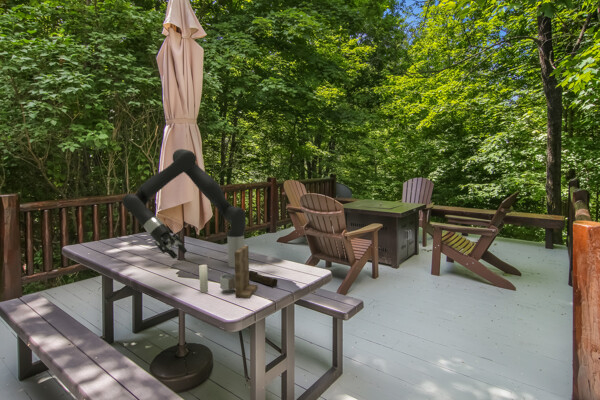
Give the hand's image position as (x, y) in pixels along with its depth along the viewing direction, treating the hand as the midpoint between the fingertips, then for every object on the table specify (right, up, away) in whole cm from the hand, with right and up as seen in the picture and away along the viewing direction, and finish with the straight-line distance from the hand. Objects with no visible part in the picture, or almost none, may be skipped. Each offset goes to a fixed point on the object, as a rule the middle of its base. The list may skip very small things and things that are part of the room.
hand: (180, 254), depth 153 cm
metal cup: (+23, -15, -1) cm, 27 cm away
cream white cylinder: (+11, -17, 0) cm, 20 cm away
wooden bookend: (+30, -17, -2) cm, 35 cm away
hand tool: (+35, -16, +11) cm, 40 cm away
